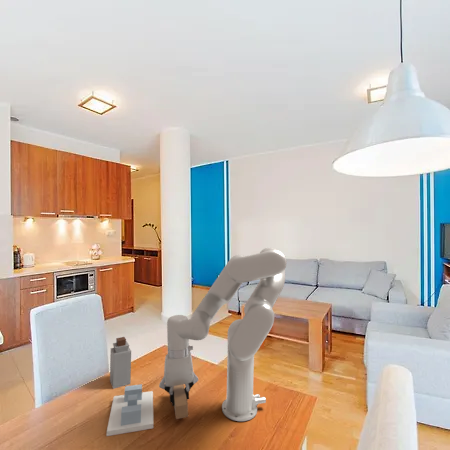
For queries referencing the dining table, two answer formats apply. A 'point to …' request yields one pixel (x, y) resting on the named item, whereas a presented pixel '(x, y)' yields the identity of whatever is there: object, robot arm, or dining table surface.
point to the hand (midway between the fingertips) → (179, 401)
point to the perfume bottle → (120, 363)
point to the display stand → (131, 411)
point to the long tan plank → (180, 402)
